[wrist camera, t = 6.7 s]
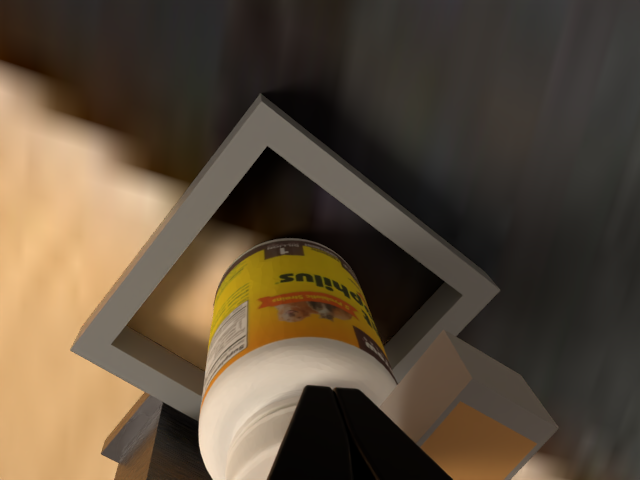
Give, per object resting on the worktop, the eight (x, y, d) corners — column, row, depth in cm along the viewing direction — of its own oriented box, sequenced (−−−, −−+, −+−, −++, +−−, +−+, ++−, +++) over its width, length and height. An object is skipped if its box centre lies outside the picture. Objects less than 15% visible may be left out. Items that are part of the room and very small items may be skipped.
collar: (484, 271, 23) (500, 290, 22) (308, 456, 26) (312, 484, 24) (260, 93, 20) (261, 101, 18) (81, 327, 22) (69, 350, 21)
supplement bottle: (388, 282, 23) (483, 477, 14) (301, 382, 24) (334, 624, 15) (271, 202, 21) (289, 362, 12) (185, 314, 23) (139, 539, 13)
